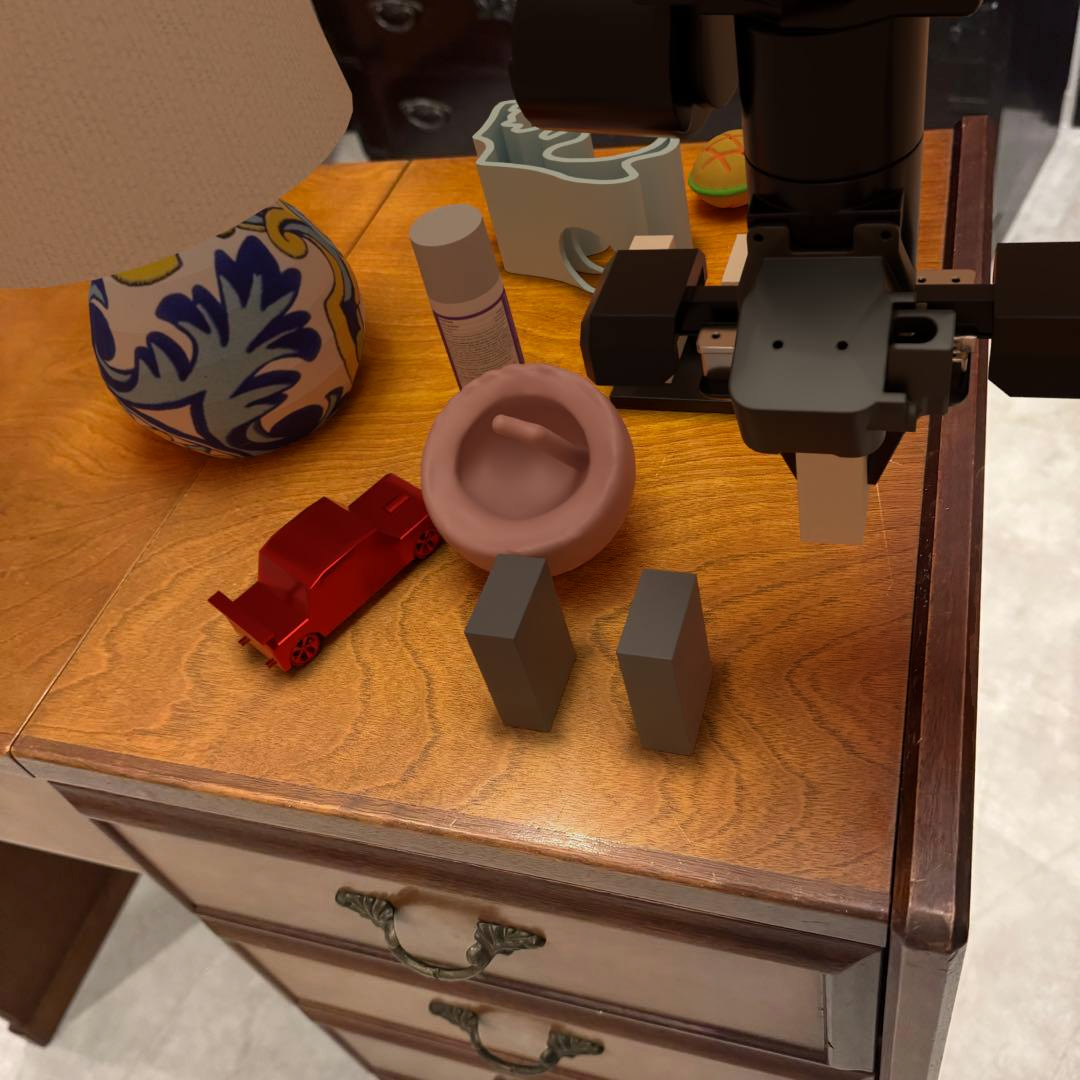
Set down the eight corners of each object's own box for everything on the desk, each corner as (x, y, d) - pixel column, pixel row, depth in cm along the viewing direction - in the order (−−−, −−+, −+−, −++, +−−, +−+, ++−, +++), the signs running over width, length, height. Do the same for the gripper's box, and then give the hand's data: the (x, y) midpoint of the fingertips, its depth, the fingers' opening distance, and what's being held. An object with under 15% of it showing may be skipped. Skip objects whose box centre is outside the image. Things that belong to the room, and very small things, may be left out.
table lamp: (103, 354, 90) (-246, -198, 61) (409, 253, 90) (204, -340, 62) (85, 578, 71) (-433, -71, 42) (472, 448, 71) (219, -279, 43)
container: (483, 394, 75) (422, 204, 64) (546, 395, 73) (494, 200, 63) (462, 440, 72) (395, 248, 61) (527, 442, 71) (469, 245, 60)
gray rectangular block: (713, 673, 55) (697, 573, 49) (692, 756, 52) (672, 660, 46) (664, 667, 56) (643, 567, 50) (641, 748, 53) (615, 652, 47)
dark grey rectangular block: (577, 655, 58) (546, 557, 52) (549, 732, 55) (513, 638, 49) (532, 649, 59) (498, 553, 53) (503, 725, 56) (462, 632, 50)
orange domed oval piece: (675, 219, 85) (666, 157, 81) (734, 155, 90) (728, 94, 86) (753, 232, 82) (747, 168, 78) (810, 165, 86) (808, 101, 83)
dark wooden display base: (899, 339, 70) (901, 287, 67) (886, 421, 65) (888, 369, 62) (640, 333, 76) (632, 286, 73) (611, 408, 71) (600, 360, 68)
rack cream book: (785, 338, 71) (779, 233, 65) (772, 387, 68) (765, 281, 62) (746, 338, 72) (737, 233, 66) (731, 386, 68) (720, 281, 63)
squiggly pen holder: (463, 266, 87) (430, 161, 80) (529, 202, 92) (504, 98, 85) (653, 305, 78) (634, 190, 71) (716, 232, 83) (704, 117, 76)
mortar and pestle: (430, 619, 62) (366, 478, 54) (479, 474, 69) (429, 332, 61) (634, 625, 58) (598, 475, 50) (661, 472, 66) (634, 321, 58)
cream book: (873, 464, 48) (876, 320, 43) (862, 546, 45) (863, 403, 40) (814, 462, 49) (809, 320, 44) (799, 542, 46) (792, 401, 40)
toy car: (288, 688, 61) (253, 635, 57) (234, 643, 64) (198, 591, 60) (460, 534, 66) (438, 477, 63) (403, 500, 69) (379, 444, 66)
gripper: (494, 284, 33) (583, 599, 44) (1174, 279, 27) (1080, 649, 38) (586, 109, 40) (644, 420, 51) (1147, 72, 34) (1074, 437, 45)
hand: (836, 476), depth 46 cm, fingers closed on cream book, 2 cm apart
